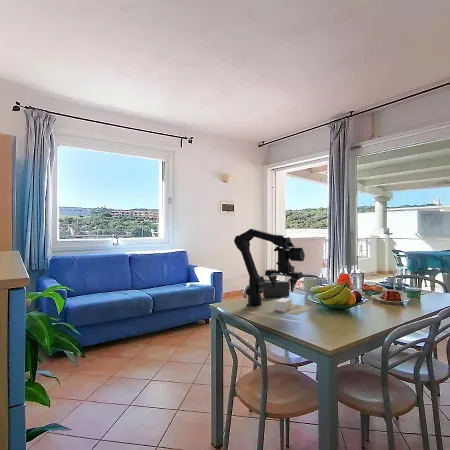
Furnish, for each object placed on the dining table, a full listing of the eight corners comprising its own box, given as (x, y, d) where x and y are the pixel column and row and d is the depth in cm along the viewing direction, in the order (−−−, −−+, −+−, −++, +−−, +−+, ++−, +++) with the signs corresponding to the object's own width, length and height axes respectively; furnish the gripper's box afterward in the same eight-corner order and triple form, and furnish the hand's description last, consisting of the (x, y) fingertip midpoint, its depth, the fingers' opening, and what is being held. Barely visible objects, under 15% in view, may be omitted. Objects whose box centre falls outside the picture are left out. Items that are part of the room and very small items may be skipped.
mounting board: (270, 311, 158) (270, 305, 158) (286, 304, 172) (286, 298, 172) (297, 316, 149) (297, 309, 149) (313, 308, 163) (313, 302, 163)
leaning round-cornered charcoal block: (287, 295, 193) (287, 280, 193) (289, 297, 189) (289, 281, 189) (261, 296, 191) (261, 281, 191) (263, 298, 186) (263, 282, 186)
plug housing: (275, 309, 158) (275, 300, 158) (284, 305, 166) (284, 297, 166) (284, 311, 155) (284, 302, 155) (293, 307, 163) (293, 298, 163)
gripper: (307, 259, 160) (307, 290, 160) (274, 257, 172) (275, 286, 172) (297, 262, 151) (298, 294, 151) (264, 259, 163) (264, 289, 163)
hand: (283, 291), depth 159 cm, fingers open, 9 cm apart
